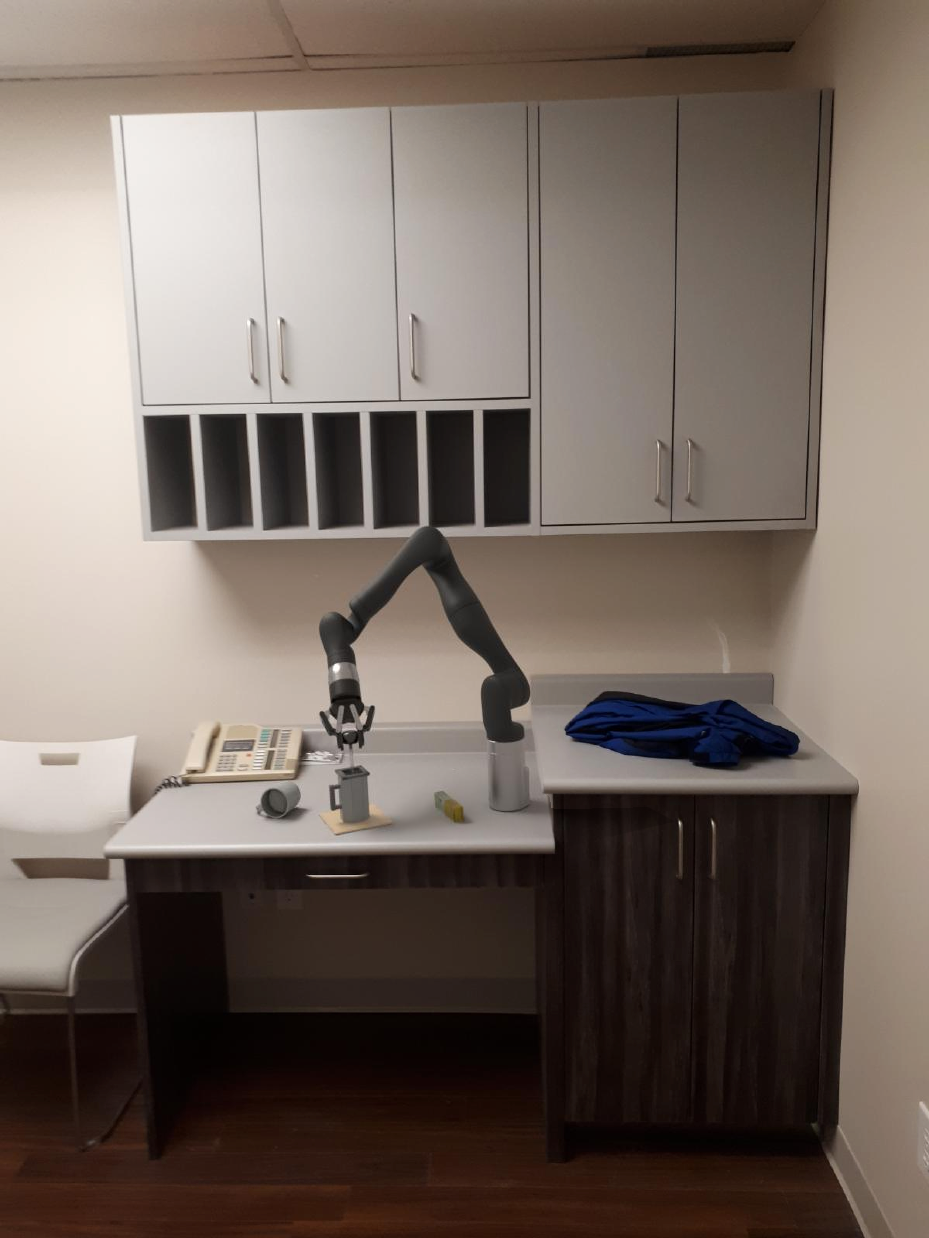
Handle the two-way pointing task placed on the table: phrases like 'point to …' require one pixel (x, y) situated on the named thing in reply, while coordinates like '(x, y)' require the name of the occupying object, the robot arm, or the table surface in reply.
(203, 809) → the table surface
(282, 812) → the ceramic mug
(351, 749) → the plunger
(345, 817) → the carafe
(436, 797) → the medication box
